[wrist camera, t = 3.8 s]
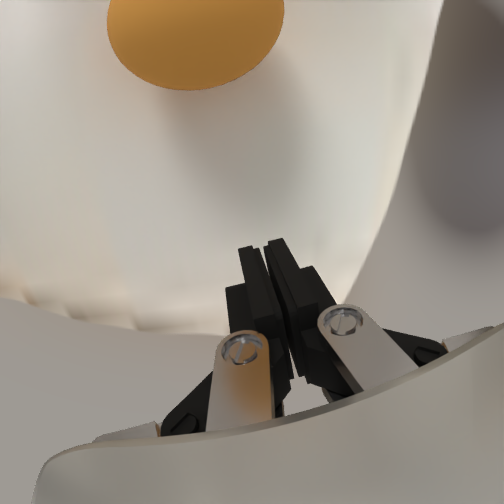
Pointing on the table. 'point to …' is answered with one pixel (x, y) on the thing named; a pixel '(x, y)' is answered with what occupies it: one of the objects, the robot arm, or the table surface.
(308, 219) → the table surface
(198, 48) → the ball
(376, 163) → the table surface
